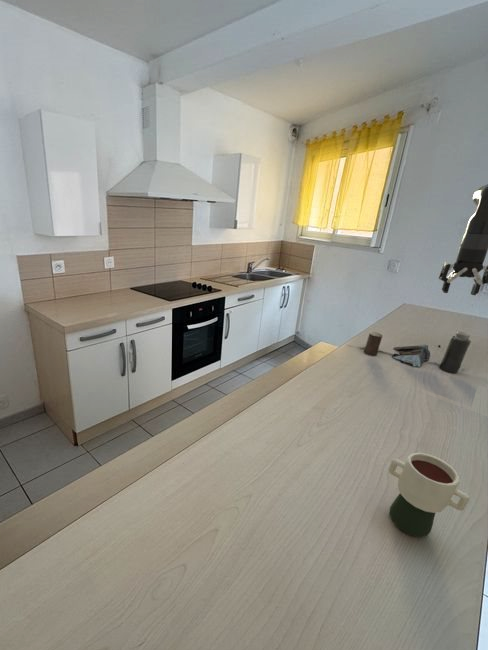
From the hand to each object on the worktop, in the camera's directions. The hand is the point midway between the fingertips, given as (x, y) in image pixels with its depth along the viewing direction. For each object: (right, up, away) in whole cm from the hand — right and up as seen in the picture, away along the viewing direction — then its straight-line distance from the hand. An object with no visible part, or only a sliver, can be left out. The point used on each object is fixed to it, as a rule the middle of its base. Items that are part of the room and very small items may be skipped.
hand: (458, 293), depth 116 cm
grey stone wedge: (-17, -25, +3) cm, 30 cm away
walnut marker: (-28, -22, +8) cm, 36 cm away
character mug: (-59, -49, -58) cm, 96 cm away
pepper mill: (-5, -27, -2) cm, 28 cm away
